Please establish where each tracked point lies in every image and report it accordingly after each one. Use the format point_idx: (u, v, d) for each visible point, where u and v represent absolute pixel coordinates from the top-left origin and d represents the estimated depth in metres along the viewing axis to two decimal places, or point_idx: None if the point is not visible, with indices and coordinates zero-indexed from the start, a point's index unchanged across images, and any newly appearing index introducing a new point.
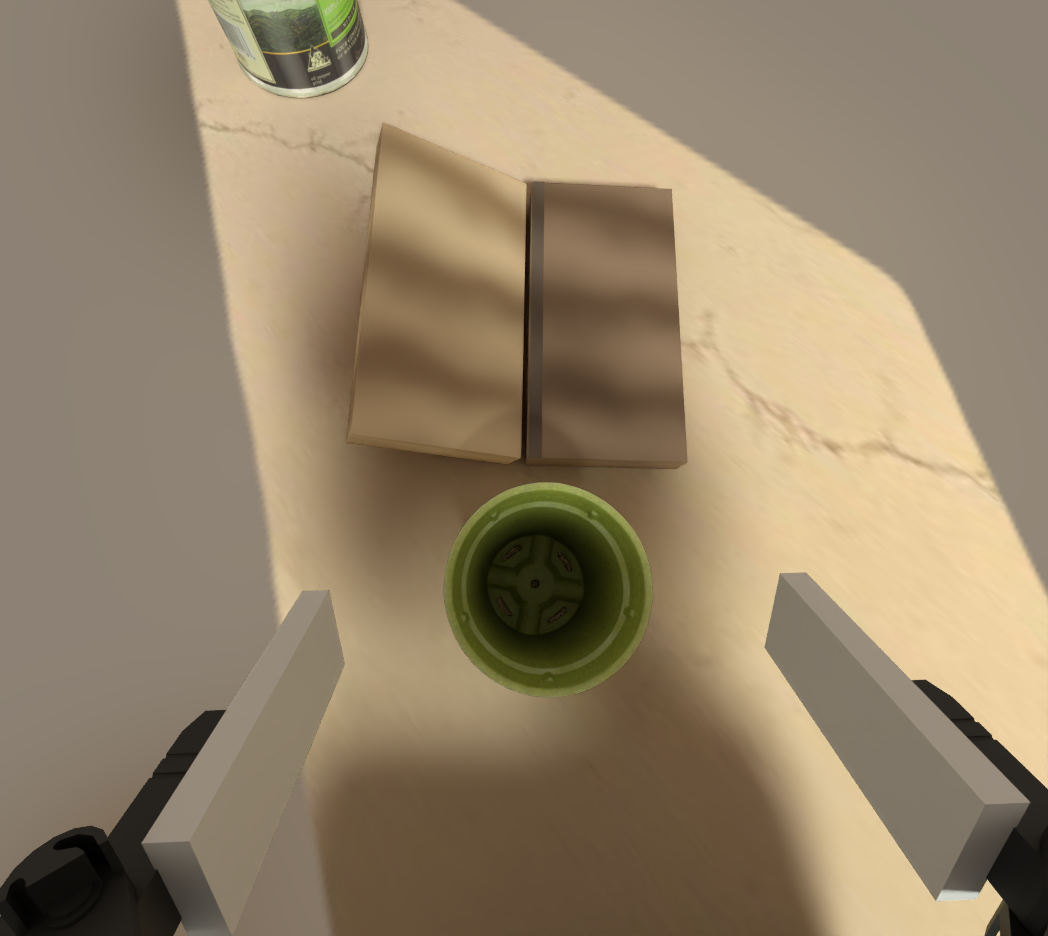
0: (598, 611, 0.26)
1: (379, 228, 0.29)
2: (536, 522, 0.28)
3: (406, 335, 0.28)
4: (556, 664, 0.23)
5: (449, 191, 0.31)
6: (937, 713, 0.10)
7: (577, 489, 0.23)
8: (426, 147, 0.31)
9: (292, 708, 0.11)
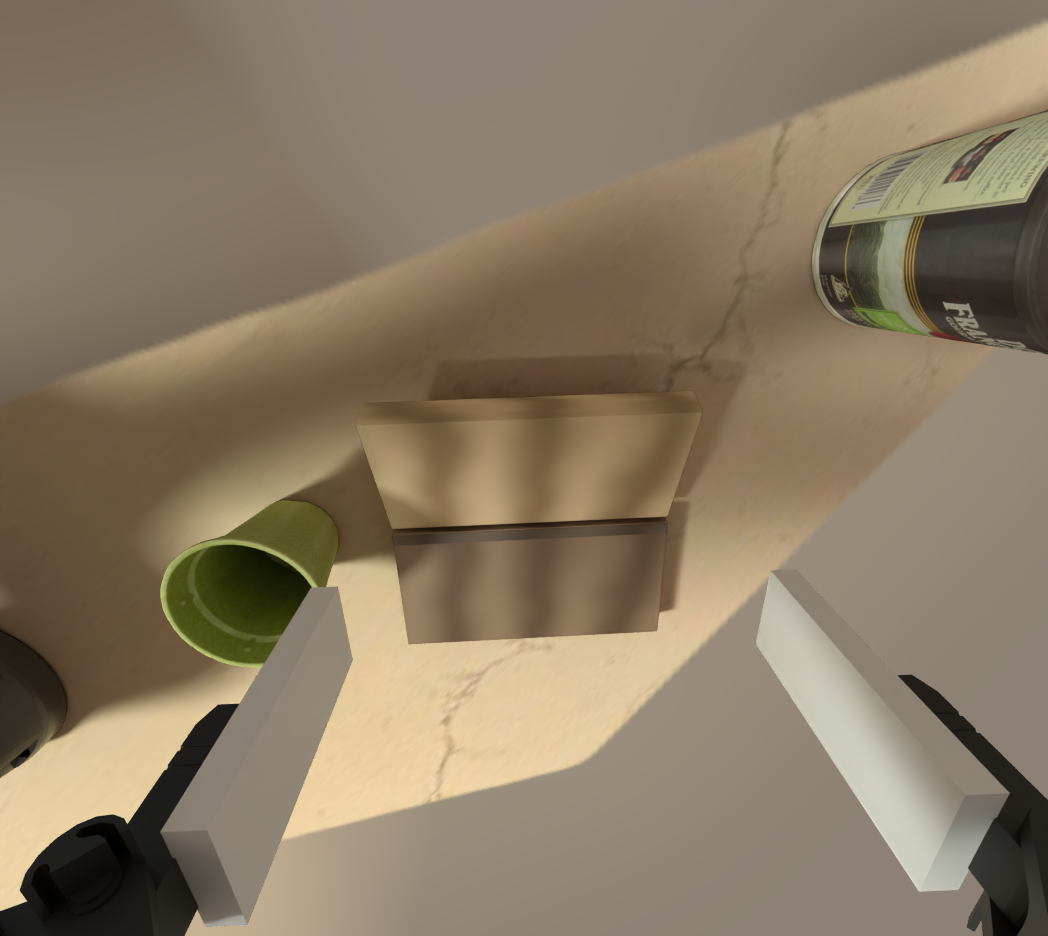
0: (267, 600, 0.35)
1: (575, 422, 0.28)
2: (328, 555, 0.34)
3: (470, 451, 0.30)
4: (205, 594, 0.31)
5: (638, 466, 0.31)
6: (920, 706, 0.10)
7: None
8: (683, 446, 0.30)
9: (303, 702, 0.11)
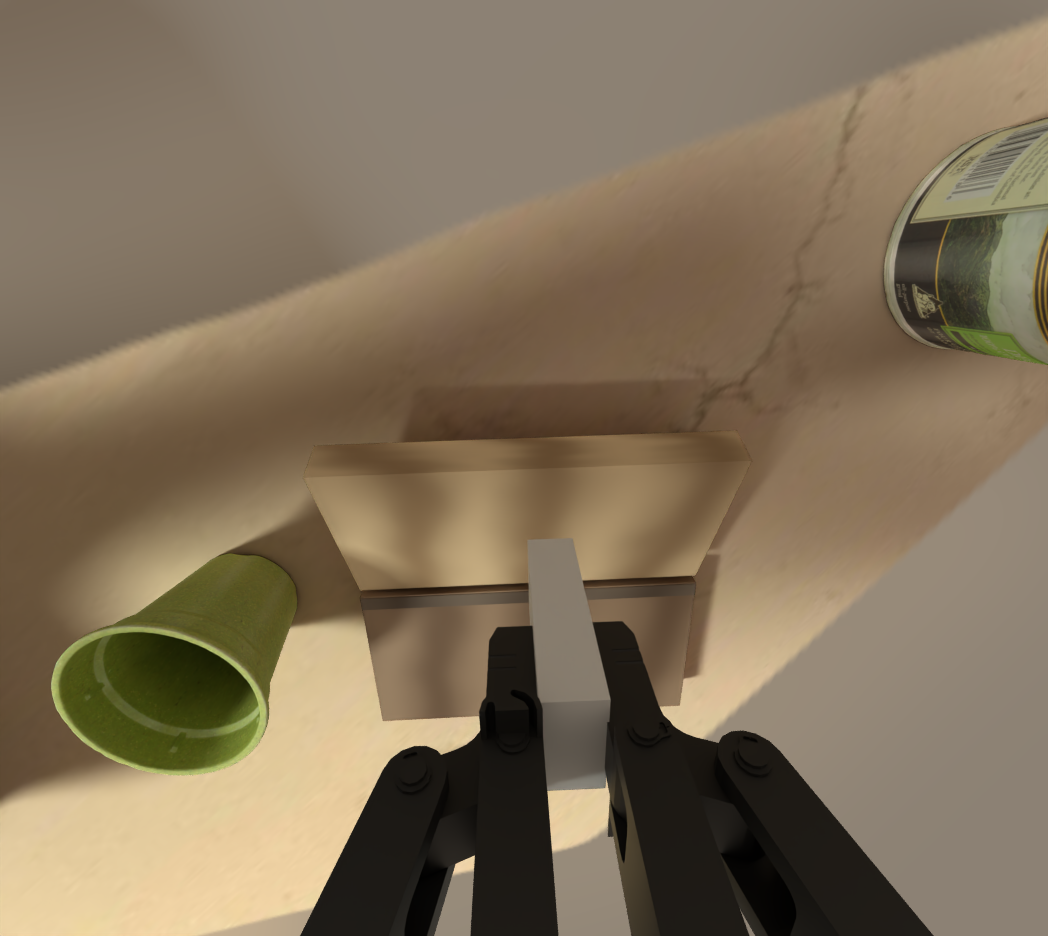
0: (206, 678, 0.28)
1: (588, 473, 0.22)
2: None
3: (453, 506, 0.23)
4: (120, 681, 0.25)
5: (664, 522, 0.25)
6: (595, 641, 0.12)
7: (264, 721, 0.23)
8: (723, 499, 0.24)
9: None
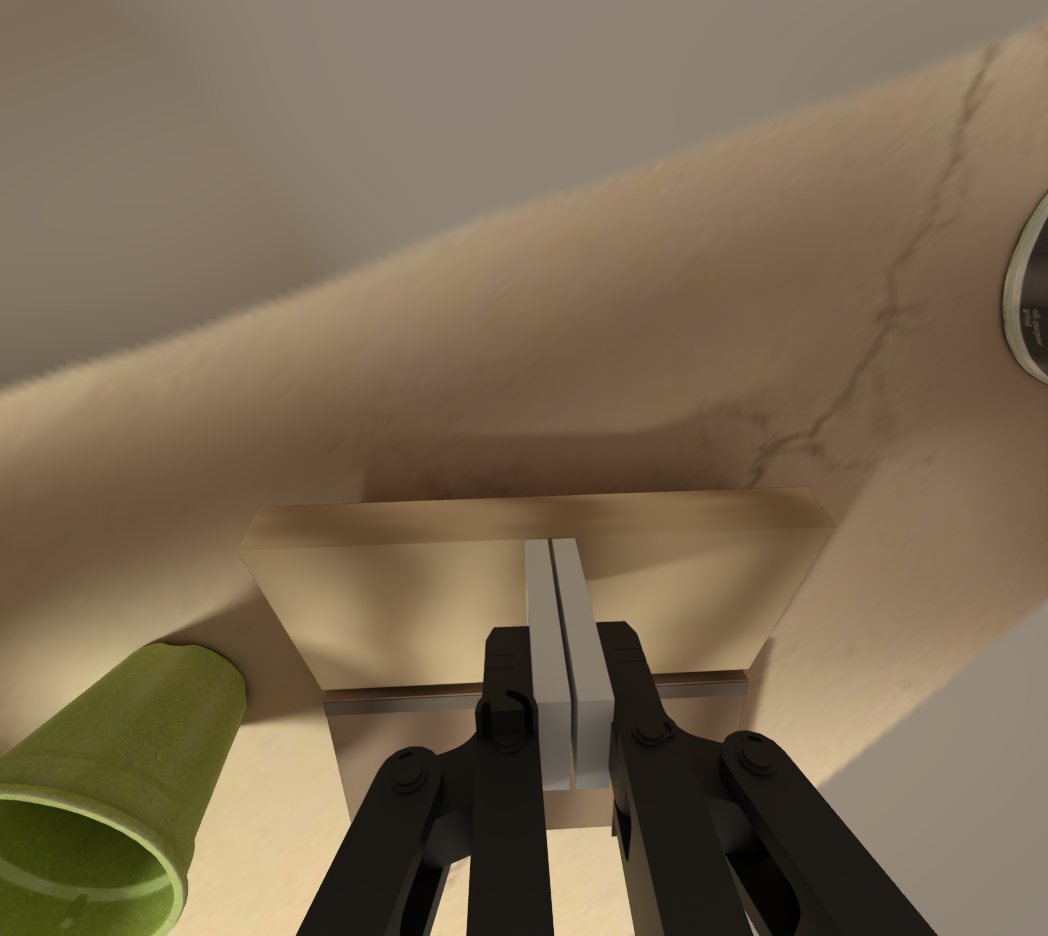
0: None
1: (618, 543, 0.17)
2: (217, 743, 0.21)
3: (439, 586, 0.18)
4: None
5: (714, 605, 0.19)
6: (599, 641, 0.12)
7: (180, 900, 0.17)
8: (792, 576, 0.18)
9: None
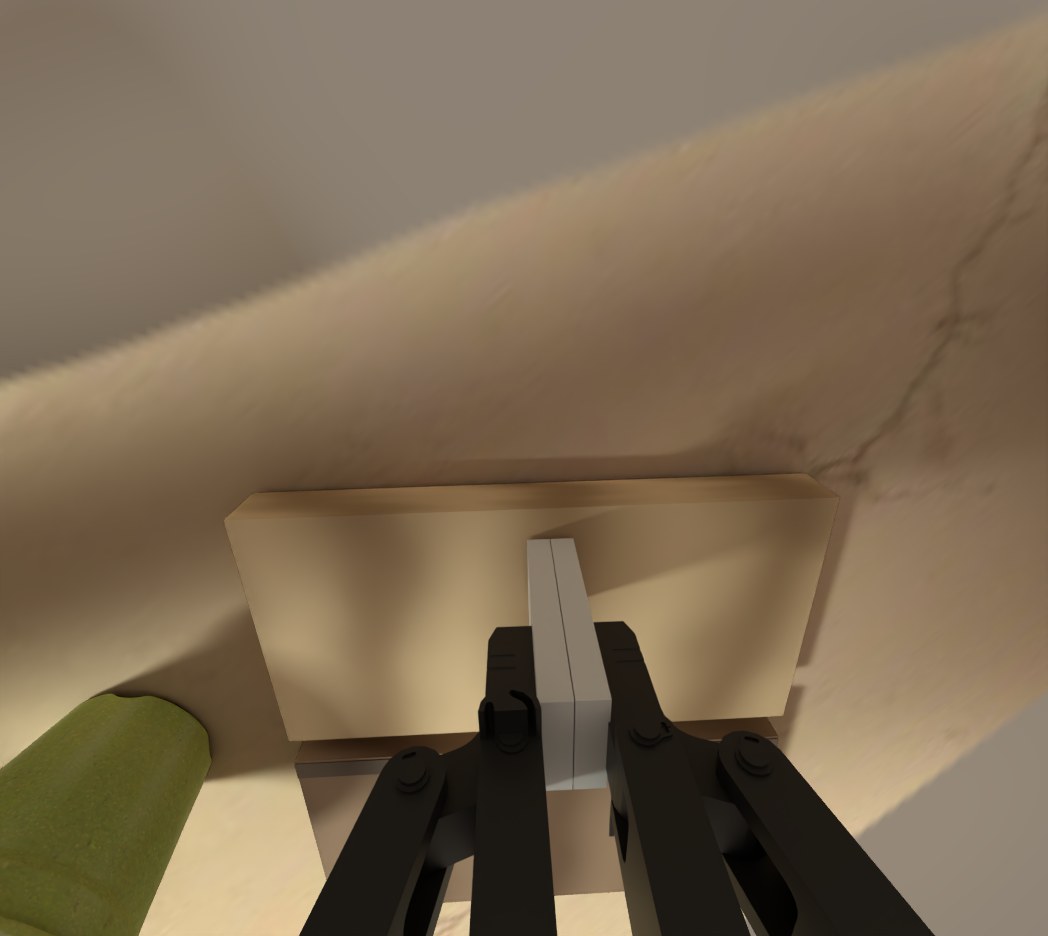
0: None
1: (617, 516, 0.16)
2: (170, 815, 0.18)
3: (429, 576, 0.17)
4: None
5: (730, 609, 0.18)
6: (596, 641, 0.12)
7: None
8: (808, 568, 0.17)
9: None
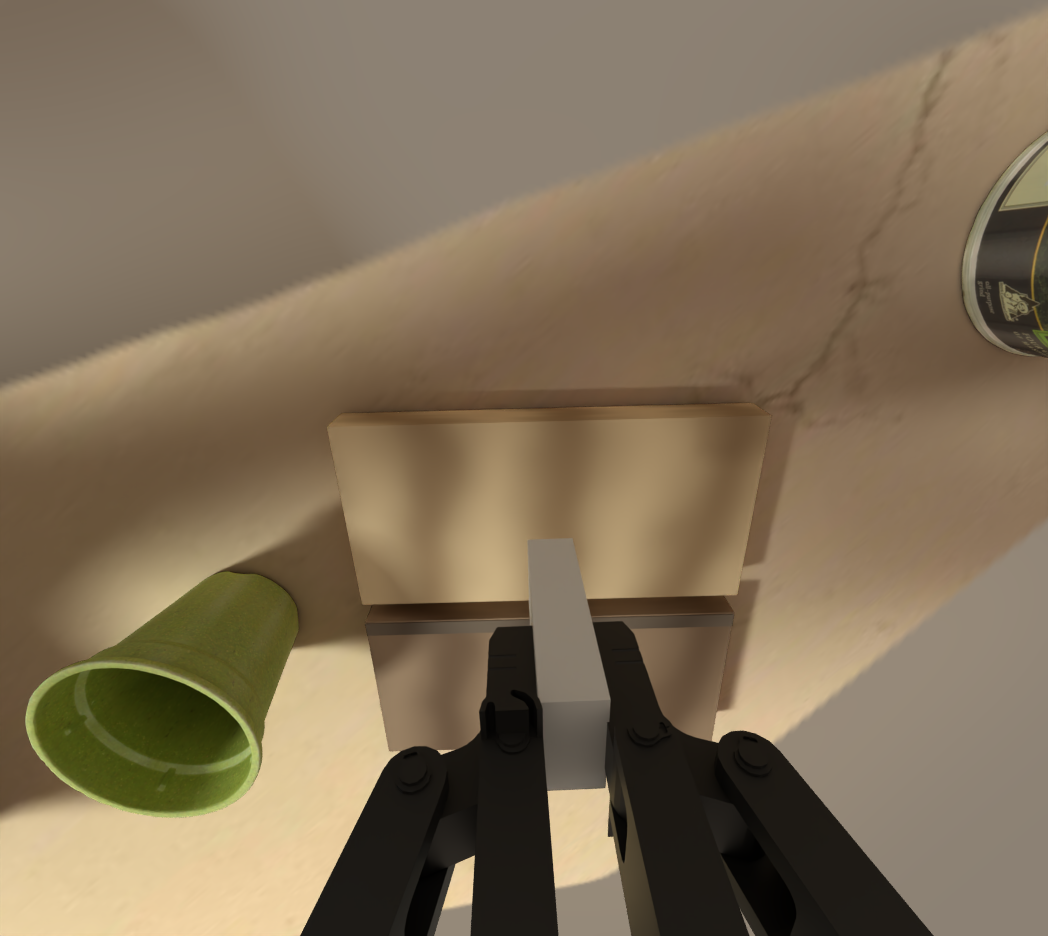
0: (200, 706, 0.26)
1: (606, 428, 0.22)
2: None
3: (470, 472, 0.23)
4: (105, 712, 0.23)
5: (692, 504, 0.24)
6: (595, 641, 0.12)
7: (256, 764, 0.21)
8: (750, 472, 0.23)
9: None
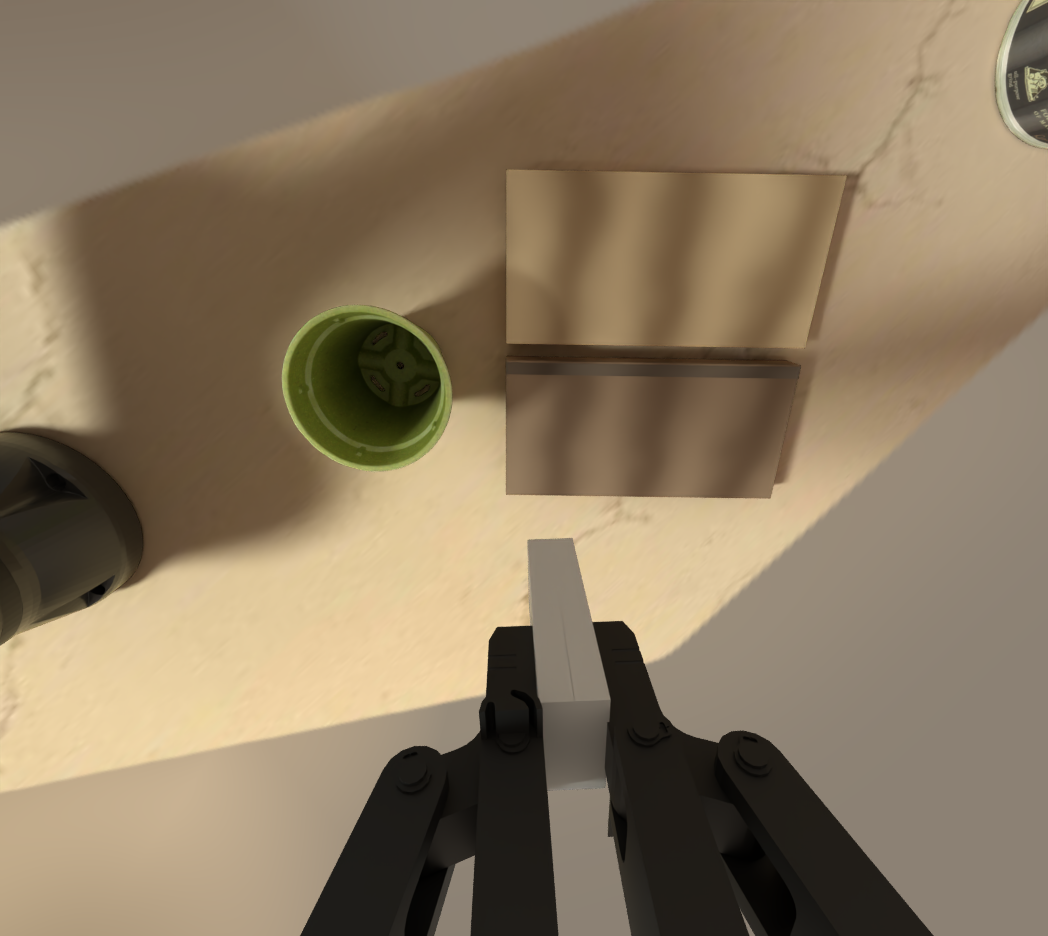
0: (372, 422, 0.33)
1: (720, 181, 0.29)
2: None
3: (610, 217, 0.29)
4: (318, 393, 0.29)
5: (778, 257, 0.30)
6: (595, 641, 0.12)
7: (447, 417, 0.28)
8: (826, 228, 0.30)
9: None
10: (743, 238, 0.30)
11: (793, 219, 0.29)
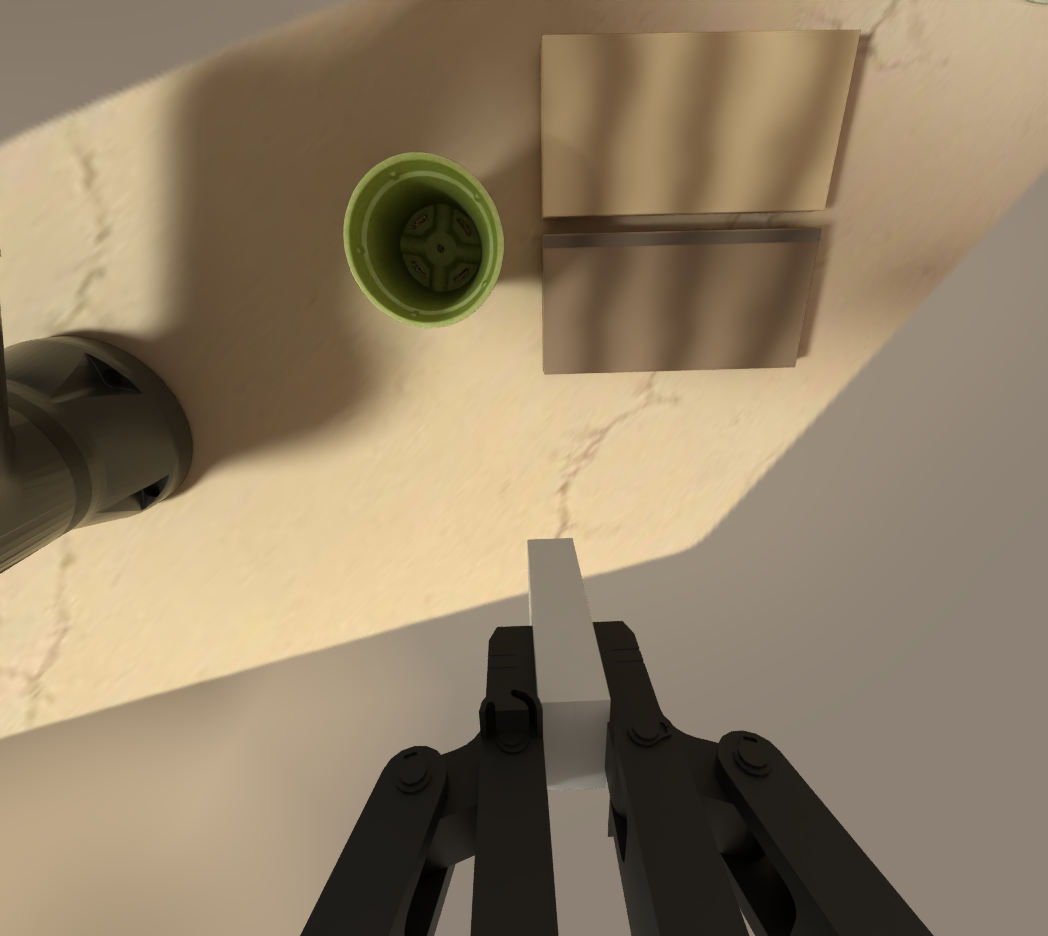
0: (419, 297, 0.34)
1: (743, 39, 0.31)
2: (484, 243, 0.33)
3: (640, 81, 0.31)
4: (372, 258, 0.31)
5: (798, 116, 0.32)
6: (595, 641, 0.12)
7: (499, 266, 0.29)
8: (842, 84, 0.32)
9: None
10: (765, 98, 0.32)
11: (811, 76, 0.31)
